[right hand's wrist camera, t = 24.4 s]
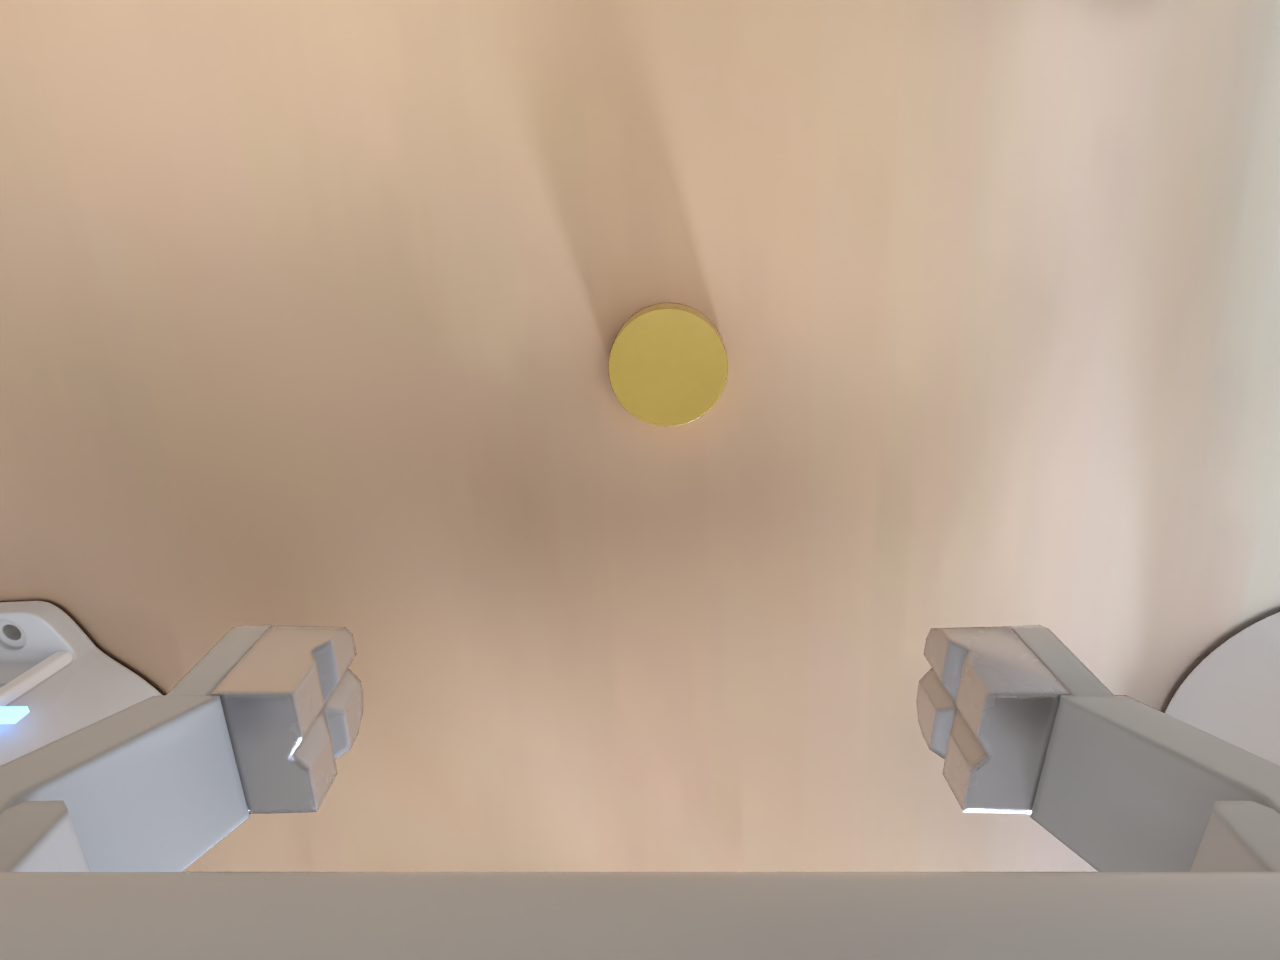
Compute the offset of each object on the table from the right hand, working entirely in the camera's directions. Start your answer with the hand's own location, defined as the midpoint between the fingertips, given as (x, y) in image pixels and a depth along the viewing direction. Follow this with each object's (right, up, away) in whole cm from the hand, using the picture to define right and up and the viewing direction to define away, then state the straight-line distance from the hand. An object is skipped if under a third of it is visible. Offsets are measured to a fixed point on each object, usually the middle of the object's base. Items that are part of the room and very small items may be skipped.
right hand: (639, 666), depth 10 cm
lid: (+1, +7, +18) cm, 19 cm away
